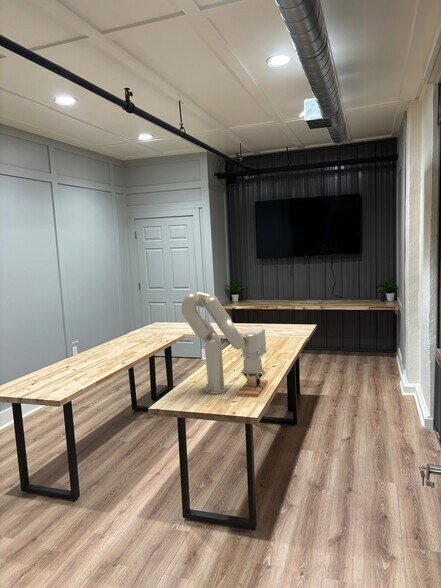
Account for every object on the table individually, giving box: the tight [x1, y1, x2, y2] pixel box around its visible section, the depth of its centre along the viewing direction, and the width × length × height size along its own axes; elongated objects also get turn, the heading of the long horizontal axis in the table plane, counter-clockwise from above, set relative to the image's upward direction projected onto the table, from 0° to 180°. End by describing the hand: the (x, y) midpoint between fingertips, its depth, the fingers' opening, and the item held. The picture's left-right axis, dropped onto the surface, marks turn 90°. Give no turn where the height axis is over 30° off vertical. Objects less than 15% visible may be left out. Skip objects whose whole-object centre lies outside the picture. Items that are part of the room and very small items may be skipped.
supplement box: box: [241, 328, 267, 358], centre depth 318 cm, size 17×13×18 cm
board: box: [236, 379, 269, 398], centre depth 244 cm, size 24×12×2 cm, turn 161°
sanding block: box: [248, 374, 257, 387], centre depth 245 cm, size 7×4×6 cm, turn 160°
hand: (253, 384), depth 246 cm, fingers closed on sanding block, 4 cm apart
